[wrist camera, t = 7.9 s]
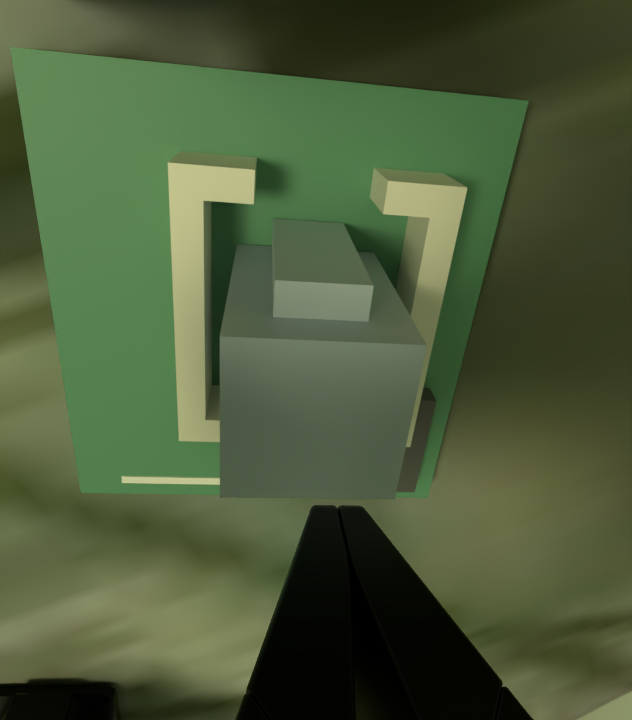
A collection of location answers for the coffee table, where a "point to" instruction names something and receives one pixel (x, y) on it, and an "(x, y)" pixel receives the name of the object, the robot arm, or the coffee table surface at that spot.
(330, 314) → the plug
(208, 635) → the coffee table surface
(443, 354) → the board
